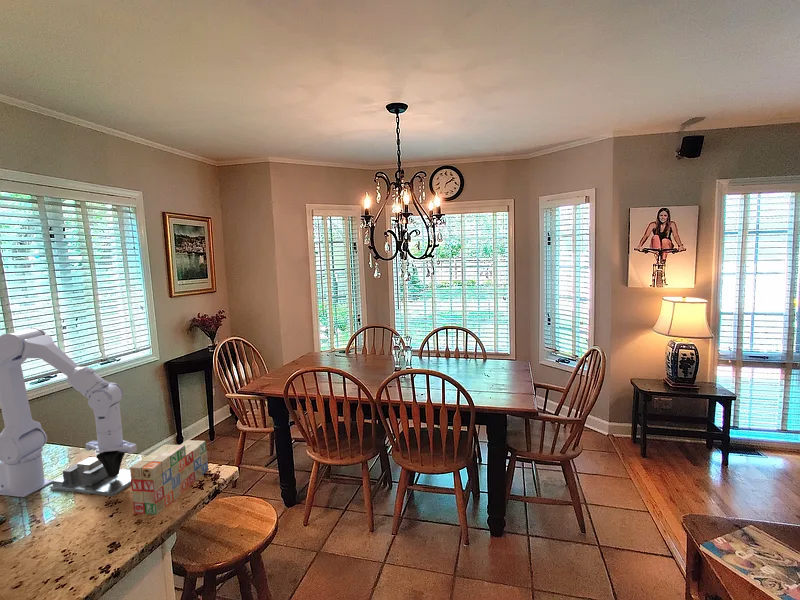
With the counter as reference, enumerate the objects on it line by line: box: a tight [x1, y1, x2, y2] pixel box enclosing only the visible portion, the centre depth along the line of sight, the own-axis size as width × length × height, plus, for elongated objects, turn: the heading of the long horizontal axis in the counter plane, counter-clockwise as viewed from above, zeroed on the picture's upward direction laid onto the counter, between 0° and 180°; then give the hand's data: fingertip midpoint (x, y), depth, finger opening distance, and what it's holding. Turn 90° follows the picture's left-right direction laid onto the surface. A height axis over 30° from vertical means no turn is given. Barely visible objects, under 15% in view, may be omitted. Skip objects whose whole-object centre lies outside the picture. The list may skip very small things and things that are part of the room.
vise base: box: [49, 456, 131, 497], centre depth 116 cm, size 20×11×5 cm, turn 79°
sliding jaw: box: [83, 463, 108, 486], centre depth 116 cm, size 2×8×4 cm, turn 169°
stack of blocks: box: [129, 439, 209, 516], centre depth 111 cm, size 21×6×12 cm, turn 172°
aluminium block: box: [76, 456, 101, 481], centre depth 116 cm, size 4×4×5 cm
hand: (113, 475), depth 115 cm, fingers closed
